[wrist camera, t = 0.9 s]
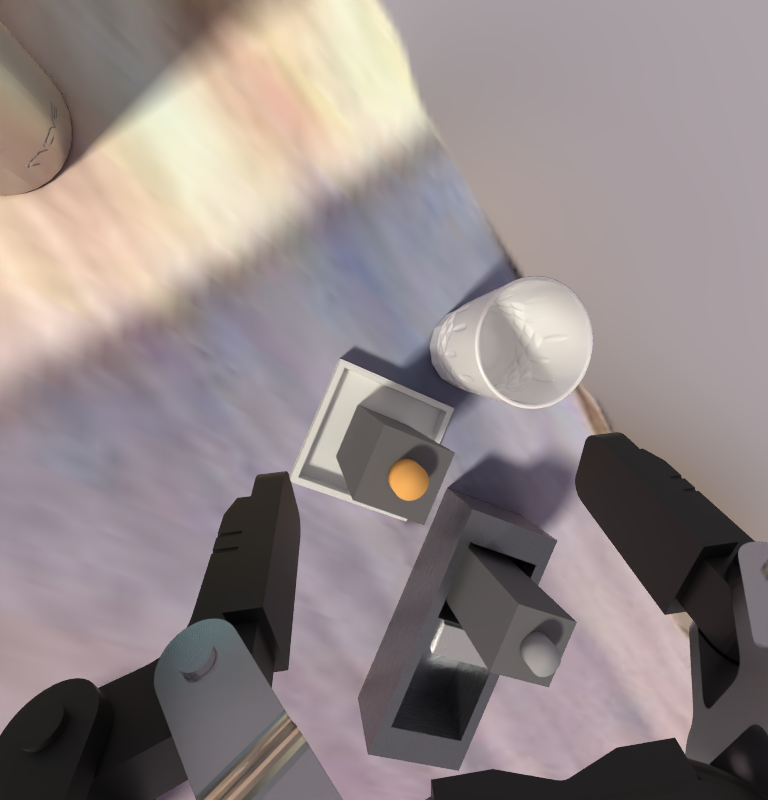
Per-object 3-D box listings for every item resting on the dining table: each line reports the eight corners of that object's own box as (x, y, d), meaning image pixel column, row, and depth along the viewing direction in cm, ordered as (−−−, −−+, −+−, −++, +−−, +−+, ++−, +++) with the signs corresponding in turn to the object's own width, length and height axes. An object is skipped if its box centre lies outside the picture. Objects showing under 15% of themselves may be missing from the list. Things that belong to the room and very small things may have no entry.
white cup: (513, 386, 34) (598, 396, 24) (429, 402, 33) (484, 420, 23) (503, 295, 33) (587, 268, 23) (415, 307, 32) (467, 284, 22)
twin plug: (433, 581, 33) (499, 688, 22) (454, 532, 33) (530, 616, 22) (477, 594, 34) (561, 703, 23) (497, 548, 34) (590, 635, 23)
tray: (289, 475, 31) (289, 481, 29) (338, 358, 31) (341, 358, 29) (401, 514, 33) (406, 521, 32) (447, 406, 33) (454, 408, 31)
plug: (335, 456, 31) (355, 508, 20) (357, 404, 31) (389, 428, 20) (386, 475, 32) (430, 533, 21) (407, 424, 32) (463, 458, 21)
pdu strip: (357, 697, 34) (368, 758, 29) (447, 487, 34) (474, 510, 29) (436, 714, 36) (460, 774, 31) (522, 516, 36) (559, 542, 30)
